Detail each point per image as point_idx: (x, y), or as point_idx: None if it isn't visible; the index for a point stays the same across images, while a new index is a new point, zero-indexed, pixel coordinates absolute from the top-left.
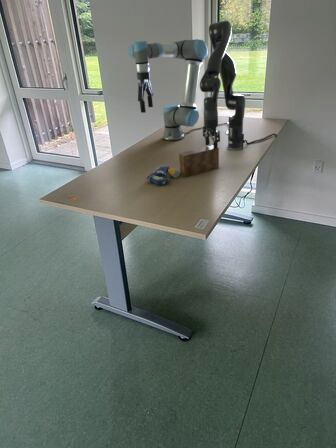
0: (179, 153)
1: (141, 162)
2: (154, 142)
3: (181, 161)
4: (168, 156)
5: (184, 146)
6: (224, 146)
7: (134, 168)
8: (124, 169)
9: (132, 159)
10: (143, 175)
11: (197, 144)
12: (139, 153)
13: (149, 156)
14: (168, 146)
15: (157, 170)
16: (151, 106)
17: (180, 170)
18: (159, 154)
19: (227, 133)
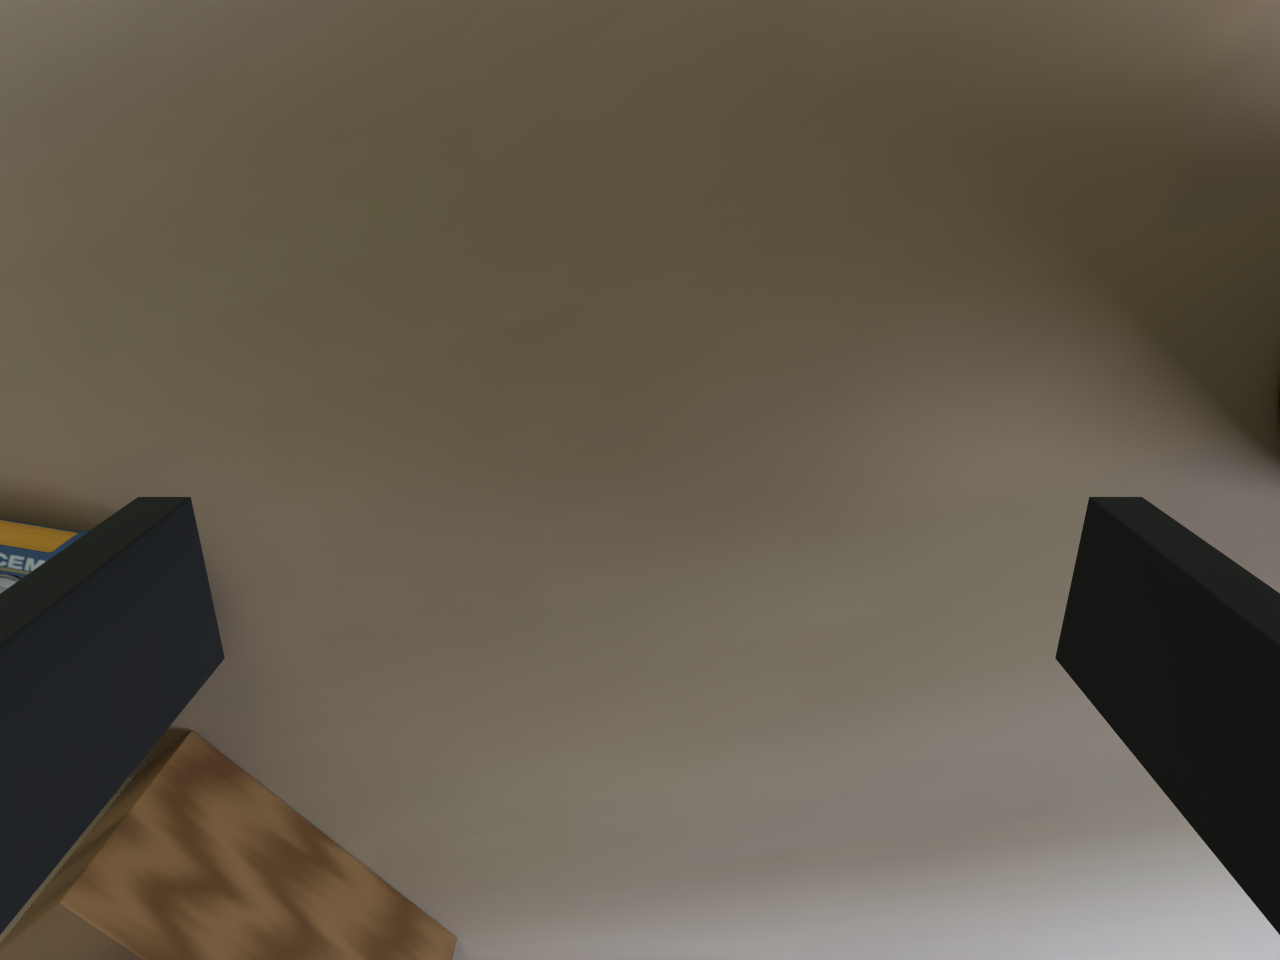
0: (51, 908)
1: (396, 207)
2: (1272, 107)
3: (79, 860)
4: (649, 496)
5: (1012, 593)
6: (966, 955)
7: (176, 186)
8: (101, 46)
9: (485, 12)
10: (19, 385)
11: (1068, 717)
12: (749, 30)
13: (631, 244)
14: (1037, 392)
15: (18, 576)
16: (1075, 634)
17: (167, 758)
18: (715, 362)
19: None
